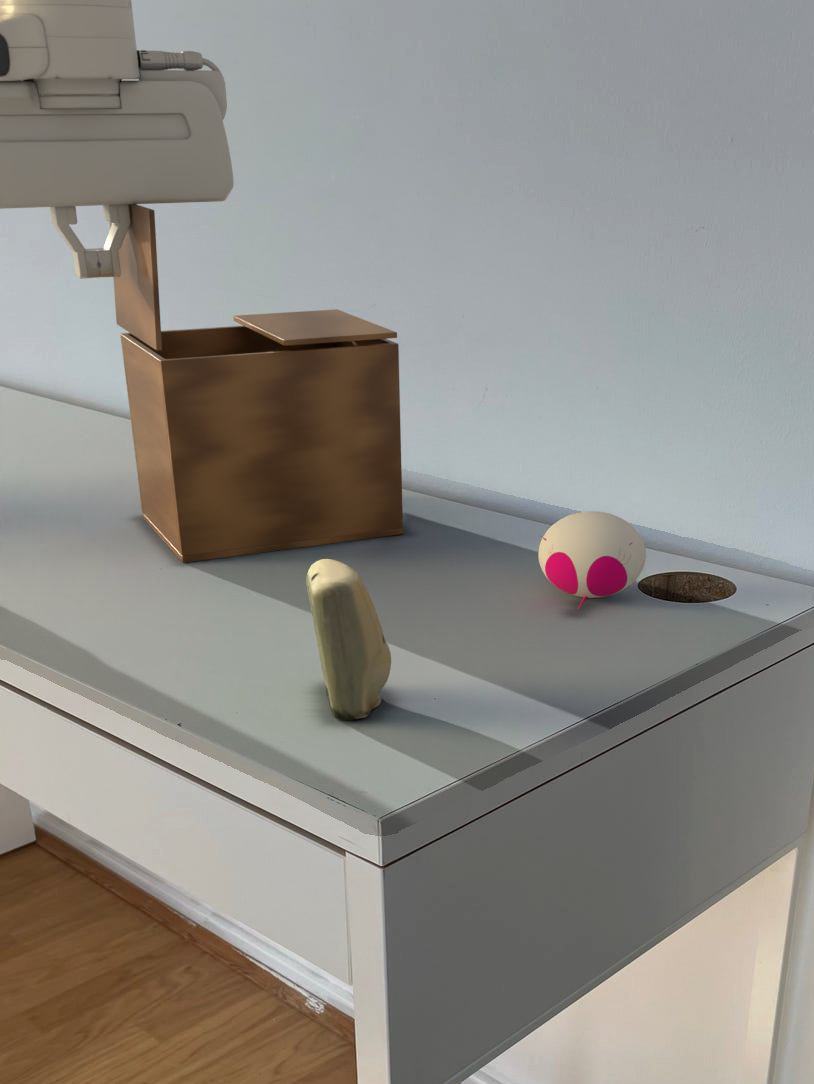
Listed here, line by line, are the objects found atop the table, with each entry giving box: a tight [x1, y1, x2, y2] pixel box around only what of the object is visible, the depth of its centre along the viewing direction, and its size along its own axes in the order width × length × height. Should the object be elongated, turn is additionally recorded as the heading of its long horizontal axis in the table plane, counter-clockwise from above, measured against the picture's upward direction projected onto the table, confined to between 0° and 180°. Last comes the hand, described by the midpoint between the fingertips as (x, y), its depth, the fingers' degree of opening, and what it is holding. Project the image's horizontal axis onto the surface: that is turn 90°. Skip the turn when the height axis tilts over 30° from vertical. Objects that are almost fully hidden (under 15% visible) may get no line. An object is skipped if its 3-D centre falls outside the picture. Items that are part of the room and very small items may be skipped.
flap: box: [109, 204, 162, 351], centre depth 95 cm, size 9×13×1 cm
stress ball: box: [538, 510, 647, 609], centre depth 93 cm, size 8×8×7 cm
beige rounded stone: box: [305, 558, 392, 721], centre depth 75 cm, size 6×5×8 cm
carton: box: [119, 308, 404, 563], centre depth 104 cm, size 18×13×15 cm
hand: (98, 277), depth 94 cm, fingers closed
